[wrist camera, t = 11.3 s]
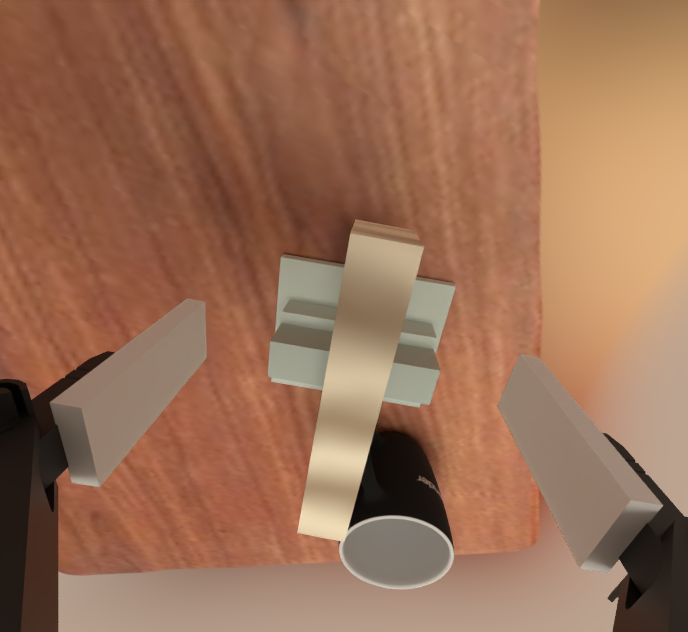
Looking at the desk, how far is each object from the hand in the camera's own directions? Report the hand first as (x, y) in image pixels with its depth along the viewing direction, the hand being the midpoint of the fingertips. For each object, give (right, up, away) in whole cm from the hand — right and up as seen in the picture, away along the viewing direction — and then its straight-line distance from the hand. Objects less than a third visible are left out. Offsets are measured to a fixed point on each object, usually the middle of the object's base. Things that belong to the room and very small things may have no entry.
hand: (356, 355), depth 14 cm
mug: (+4, -11, +21) cm, 24 cm away
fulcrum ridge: (+1, 0, +16) cm, 16 cm away
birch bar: (0, -3, +10) cm, 11 cm away
